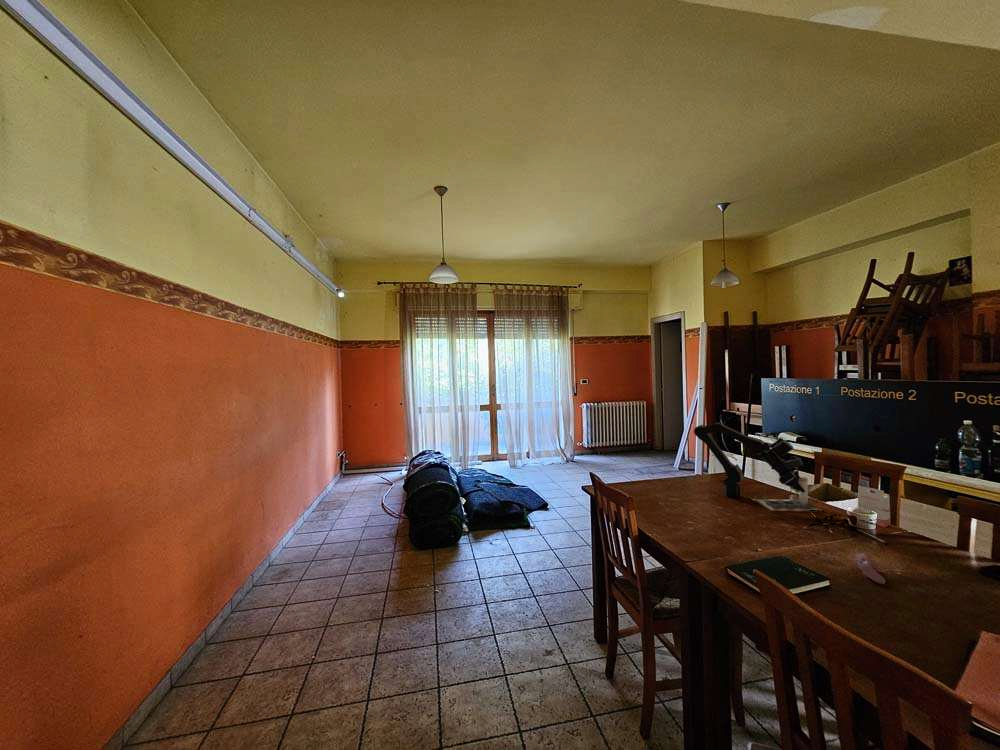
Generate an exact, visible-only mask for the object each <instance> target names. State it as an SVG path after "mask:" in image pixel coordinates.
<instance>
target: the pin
mask: <svg viewBox="0 0 1000 750" xmlns="http://www.w3.org/2000/svg"><path fill="white" fill-rule="evenodd" d="M799 484H800V485H801V486H802V487H803V489H804V490H805V492H804V493H803V492H801V491H798V493H799V495H798V500H799V504H801V505H808V502H809V497H808V495H809V494H808V493H809V491H808V489H809V488H808V485H809V484H808V478H807V477H802V476H800V477H799Z"/></svg>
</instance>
